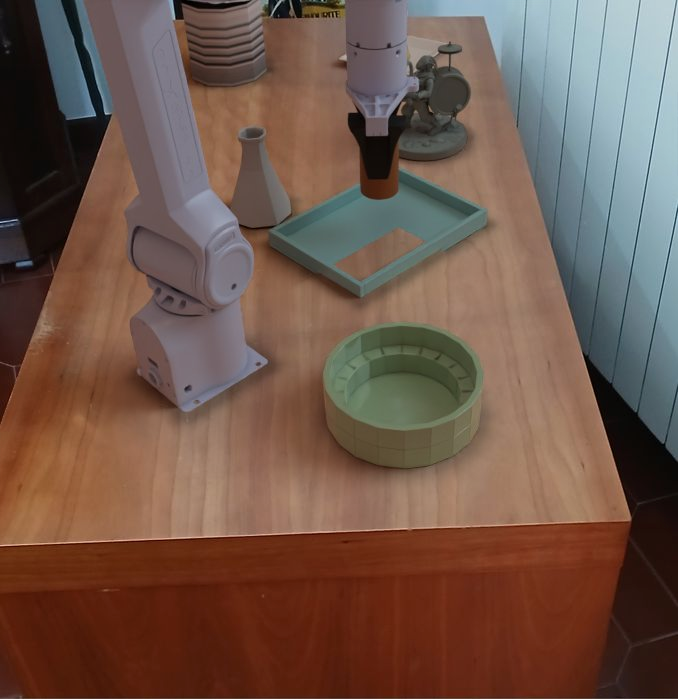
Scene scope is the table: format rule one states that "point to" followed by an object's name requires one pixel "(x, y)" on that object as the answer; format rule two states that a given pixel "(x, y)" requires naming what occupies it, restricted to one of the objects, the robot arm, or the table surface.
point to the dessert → (416, 50)
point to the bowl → (403, 394)
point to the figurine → (435, 109)
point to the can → (225, 41)
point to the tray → (376, 228)
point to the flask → (258, 184)
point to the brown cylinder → (380, 180)
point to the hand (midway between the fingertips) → (378, 166)
